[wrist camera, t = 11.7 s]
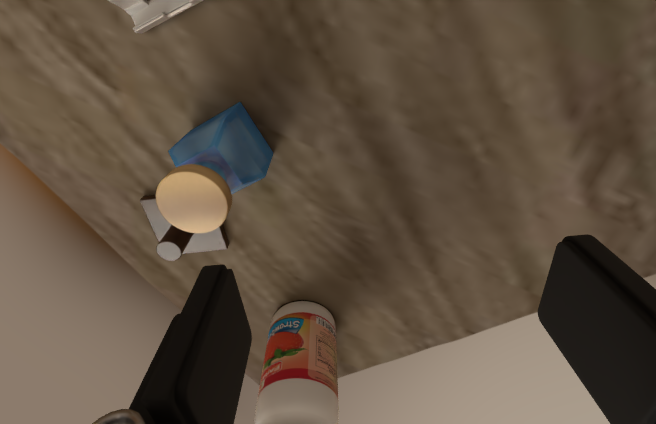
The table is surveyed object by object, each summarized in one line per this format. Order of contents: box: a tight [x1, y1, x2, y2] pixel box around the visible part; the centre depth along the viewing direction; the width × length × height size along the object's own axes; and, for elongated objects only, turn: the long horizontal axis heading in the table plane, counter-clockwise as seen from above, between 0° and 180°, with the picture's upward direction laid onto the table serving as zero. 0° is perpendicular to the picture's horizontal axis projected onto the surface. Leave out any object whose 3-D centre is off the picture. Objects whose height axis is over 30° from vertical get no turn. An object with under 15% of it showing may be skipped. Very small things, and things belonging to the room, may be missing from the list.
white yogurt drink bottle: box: [255, 301, 339, 424], centre depth 39 cm, size 9×9×28 cm
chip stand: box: [140, 195, 229, 261], centre depth 39 cm, size 8×8×6 cm
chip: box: [156, 164, 232, 233], centre depth 26 cm, size 5×5×1 cm
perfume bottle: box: [168, 102, 273, 194], centre depth 32 cm, size 6×6×12 cm
